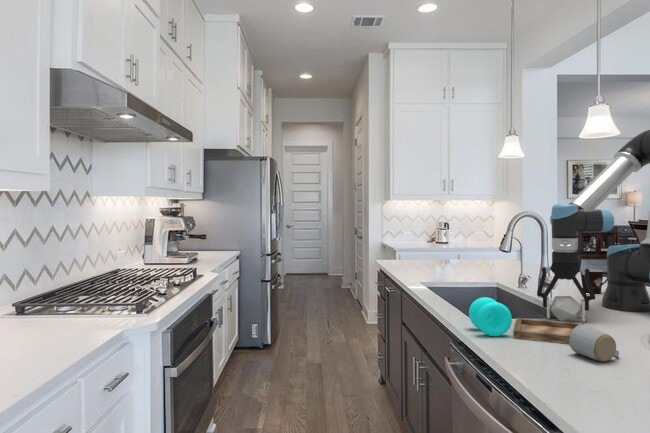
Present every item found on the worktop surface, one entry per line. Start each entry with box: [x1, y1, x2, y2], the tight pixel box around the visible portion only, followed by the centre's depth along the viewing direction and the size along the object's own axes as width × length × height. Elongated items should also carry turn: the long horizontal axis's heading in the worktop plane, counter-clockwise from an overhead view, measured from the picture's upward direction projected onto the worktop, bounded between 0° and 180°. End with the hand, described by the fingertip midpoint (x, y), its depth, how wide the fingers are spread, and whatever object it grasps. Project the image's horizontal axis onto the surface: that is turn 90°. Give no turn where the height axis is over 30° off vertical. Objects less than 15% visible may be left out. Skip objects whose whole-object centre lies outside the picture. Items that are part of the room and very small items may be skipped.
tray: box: [513, 317, 585, 345], centre depth 127 cm, size 19×17×2 cm
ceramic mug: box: [569, 324, 620, 363], centre depth 107 cm, size 10×8×7 cm
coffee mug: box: [579, 268, 607, 294], centre depth 186 cm, size 12×9×10 cm
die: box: [549, 295, 582, 322], centre depth 143 cm, size 8×9×10 cm
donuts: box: [468, 296, 513, 337], centre depth 130 cm, size 10×10×10 cm
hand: (565, 318), depth 143 cm, fingers closed on die, 9 cm apart
